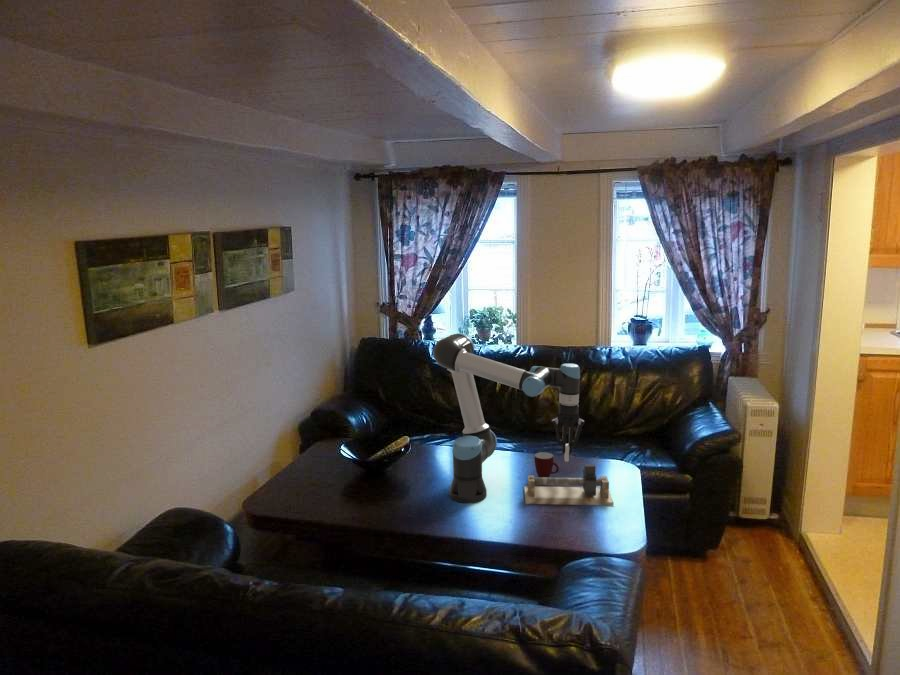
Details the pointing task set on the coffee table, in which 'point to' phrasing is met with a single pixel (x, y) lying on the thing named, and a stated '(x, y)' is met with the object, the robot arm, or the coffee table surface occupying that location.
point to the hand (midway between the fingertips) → (566, 460)
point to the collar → (589, 479)
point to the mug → (545, 464)
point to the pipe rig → (566, 491)
